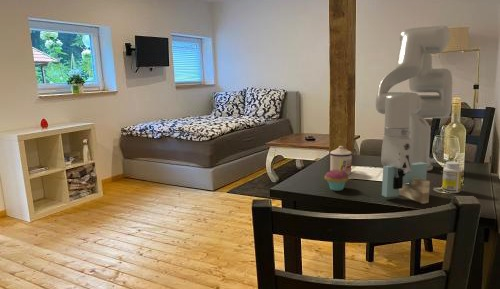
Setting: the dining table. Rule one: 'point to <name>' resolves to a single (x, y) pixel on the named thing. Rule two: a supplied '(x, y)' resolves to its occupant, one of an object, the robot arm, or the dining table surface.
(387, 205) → the dining table surface
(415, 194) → the birch slotted plate
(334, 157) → the teacup with lid
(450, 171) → the supplement bottle
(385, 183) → the teal slotted plate
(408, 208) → the dining table surface
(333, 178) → the cupcake
